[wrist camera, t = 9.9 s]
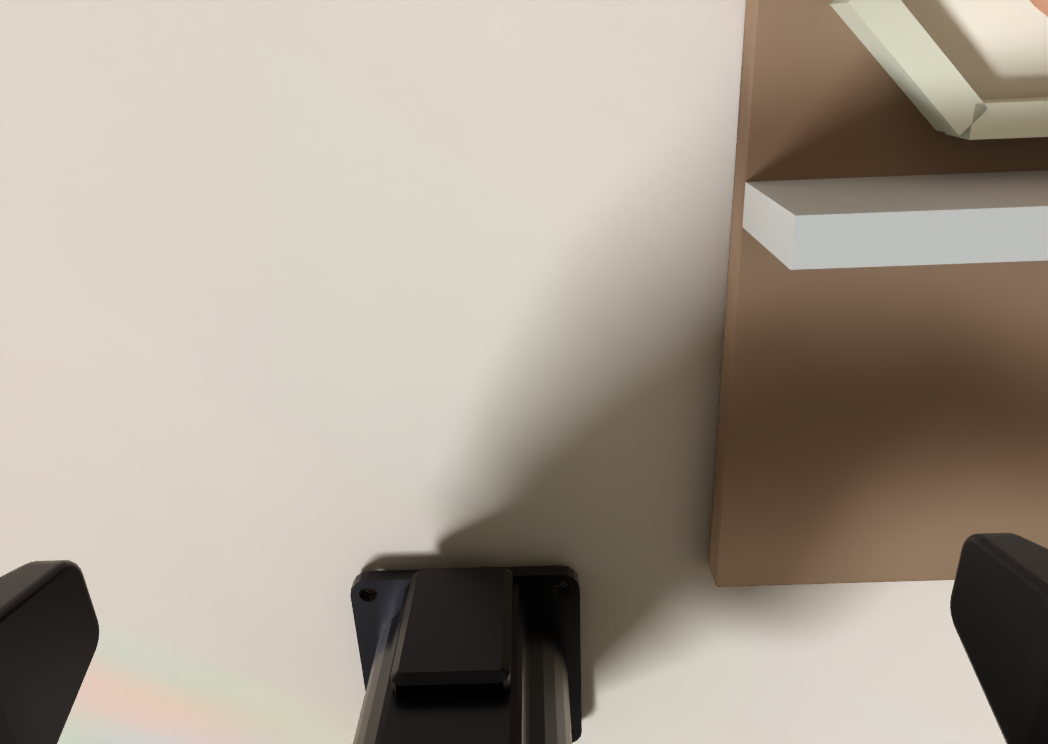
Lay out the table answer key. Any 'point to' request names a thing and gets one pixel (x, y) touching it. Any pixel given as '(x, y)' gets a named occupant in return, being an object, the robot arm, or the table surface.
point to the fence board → (873, 323)
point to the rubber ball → (1041, 5)
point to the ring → (962, 61)
